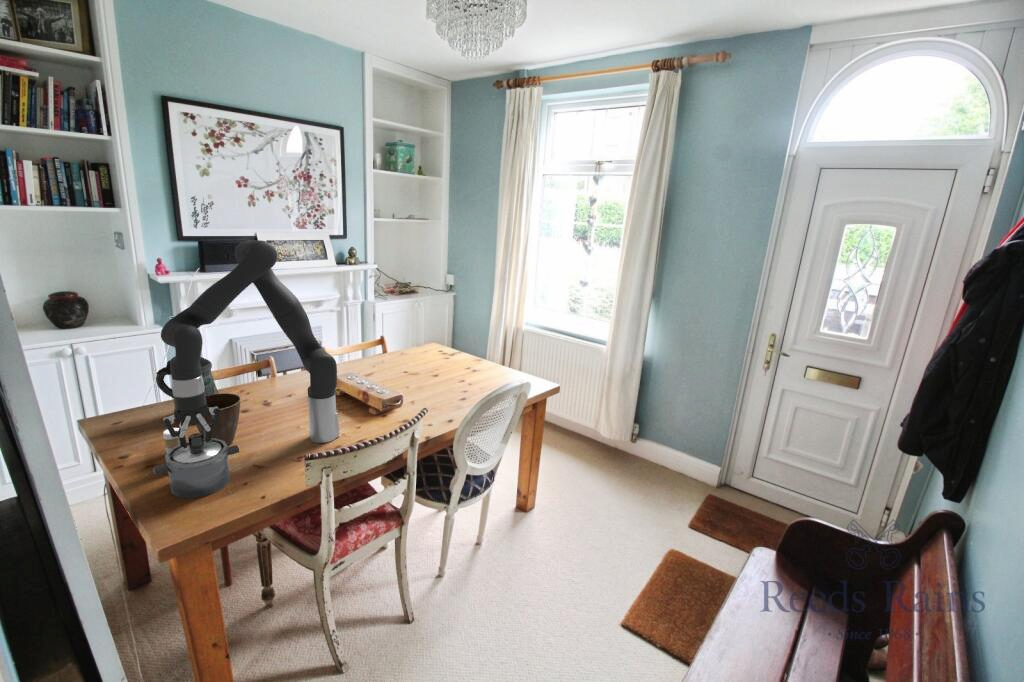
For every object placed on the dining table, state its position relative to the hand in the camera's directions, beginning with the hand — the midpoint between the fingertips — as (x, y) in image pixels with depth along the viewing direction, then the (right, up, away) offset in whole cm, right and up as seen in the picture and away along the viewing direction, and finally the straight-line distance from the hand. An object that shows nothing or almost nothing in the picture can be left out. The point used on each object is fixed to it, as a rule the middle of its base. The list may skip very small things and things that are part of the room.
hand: (196, 444), depth 138 cm
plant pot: (-9, -6, +26) cm, 29 cm away
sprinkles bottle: (-13, -10, +10) cm, 19 cm away
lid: (0, -3, +1) cm, 3 cm away
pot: (-1, -13, +4) cm, 13 cm away
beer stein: (-30, +1, +44) cm, 53 cm away
